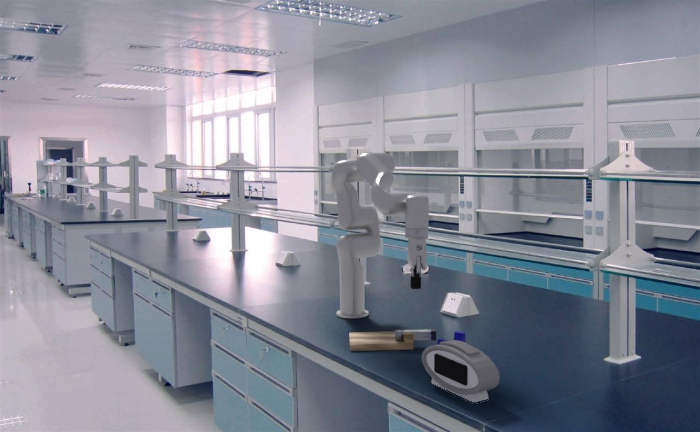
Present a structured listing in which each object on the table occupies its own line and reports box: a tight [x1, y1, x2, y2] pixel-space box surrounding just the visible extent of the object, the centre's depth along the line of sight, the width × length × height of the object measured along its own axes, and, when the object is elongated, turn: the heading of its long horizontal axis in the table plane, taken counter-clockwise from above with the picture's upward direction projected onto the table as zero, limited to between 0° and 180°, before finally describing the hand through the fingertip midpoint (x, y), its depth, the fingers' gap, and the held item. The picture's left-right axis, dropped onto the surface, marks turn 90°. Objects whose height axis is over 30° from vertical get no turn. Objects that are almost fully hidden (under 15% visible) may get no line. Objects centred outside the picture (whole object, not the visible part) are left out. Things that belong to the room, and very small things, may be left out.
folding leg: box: [394, 328, 437, 342], centre depth 197 cm, size 13×3×3 cm, turn 90°
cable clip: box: [437, 330, 466, 345], centre depth 188 cm, size 12×4×6 cm, turn 142°
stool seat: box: [348, 331, 415, 352], centre depth 201 cm, size 14×20×5 cm
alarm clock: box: [421, 339, 501, 402], centre depth 157 cm, size 23×6×13 cm, turn 31°
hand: (415, 288), depth 202 cm, fingers closed
